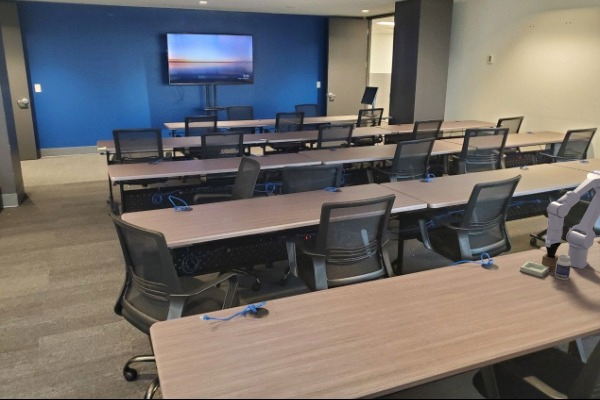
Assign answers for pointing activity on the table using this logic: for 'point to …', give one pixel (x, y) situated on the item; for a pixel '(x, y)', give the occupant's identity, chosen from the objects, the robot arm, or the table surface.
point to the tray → (534, 269)
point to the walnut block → (550, 262)
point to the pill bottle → (563, 267)
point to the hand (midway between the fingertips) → (550, 257)
